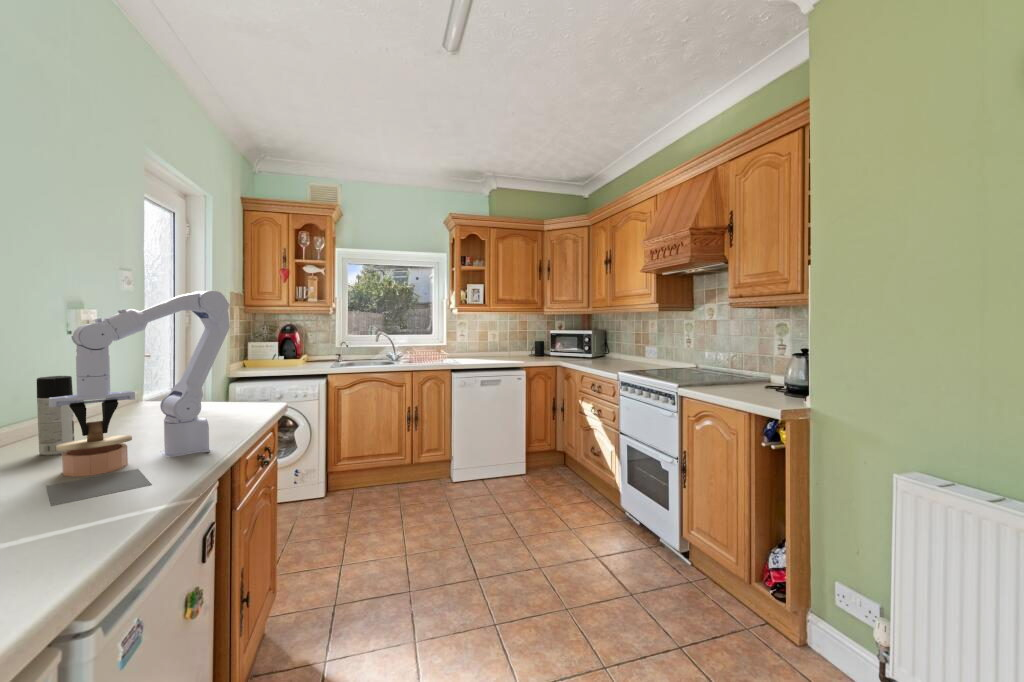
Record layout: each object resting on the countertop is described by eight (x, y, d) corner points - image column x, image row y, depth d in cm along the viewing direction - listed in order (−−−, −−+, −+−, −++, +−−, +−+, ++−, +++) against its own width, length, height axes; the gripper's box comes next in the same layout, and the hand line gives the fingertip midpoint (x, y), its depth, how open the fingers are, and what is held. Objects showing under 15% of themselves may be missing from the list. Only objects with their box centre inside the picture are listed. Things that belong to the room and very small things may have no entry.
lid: (134, 436, 114) (134, 415, 114) (128, 443, 103) (127, 420, 104) (63, 444, 107) (62, 422, 107) (48, 453, 96) (47, 429, 96)
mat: (138, 471, 106) (138, 468, 106) (152, 487, 96) (152, 484, 96) (46, 488, 94) (46, 485, 94) (51, 508, 85) (51, 505, 84)
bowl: (122, 460, 114) (122, 440, 113) (131, 470, 106) (130, 449, 106) (61, 470, 105) (60, 449, 105) (65, 482, 98) (64, 459, 98)
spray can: (80, 450, 121) (78, 376, 121) (48, 457, 115) (45, 379, 114) (65, 447, 124) (63, 374, 123) (32, 454, 117) (29, 377, 116)
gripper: (130, 371, 113) (131, 425, 113) (47, 376, 102) (49, 436, 103) (136, 374, 108) (137, 430, 109) (49, 379, 97) (51, 441, 98)
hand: (95, 433), depth 105 cm, fingers closed on lid, 3 cm apart
